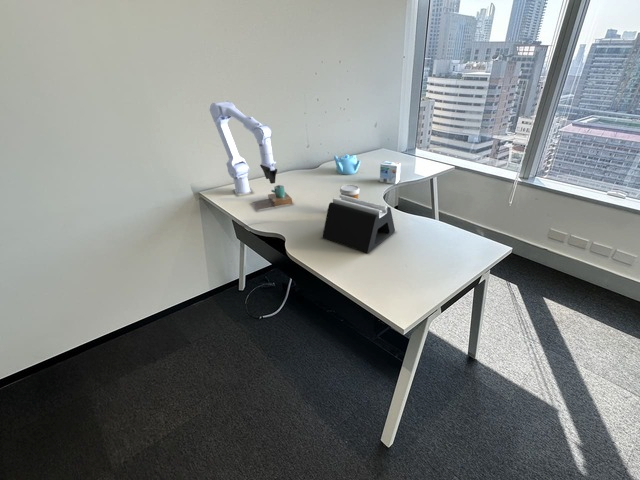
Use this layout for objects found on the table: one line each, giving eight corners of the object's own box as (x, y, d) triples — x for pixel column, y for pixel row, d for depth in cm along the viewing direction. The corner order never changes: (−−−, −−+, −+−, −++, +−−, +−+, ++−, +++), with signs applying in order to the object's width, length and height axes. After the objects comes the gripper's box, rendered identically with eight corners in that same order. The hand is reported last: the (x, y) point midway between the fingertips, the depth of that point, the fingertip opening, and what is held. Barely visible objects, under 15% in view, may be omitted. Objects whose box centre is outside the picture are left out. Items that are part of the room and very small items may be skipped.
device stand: (367, 253, 128) (368, 218, 120) (322, 238, 138) (320, 205, 129) (394, 231, 144) (396, 199, 135) (352, 219, 154) (352, 188, 145)
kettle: (283, 193, 170) (281, 183, 167) (286, 196, 167) (285, 186, 164) (270, 195, 167) (269, 185, 164) (273, 199, 164) (272, 188, 161)
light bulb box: (379, 181, 197) (380, 163, 191) (383, 178, 202) (383, 160, 196) (396, 184, 194) (397, 166, 188) (399, 180, 199) (400, 163, 193)
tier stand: (251, 203, 167) (250, 197, 165) (285, 197, 175) (284, 191, 173) (257, 211, 159) (255, 205, 157) (292, 204, 167) (291, 198, 165)
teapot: (361, 175, 207) (361, 157, 201) (337, 176, 204) (337, 158, 198) (356, 167, 219) (356, 151, 213) (334, 168, 216) (333, 152, 210)
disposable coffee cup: (362, 209, 164) (362, 185, 157) (355, 216, 156) (355, 192, 149) (344, 206, 166) (344, 183, 159) (337, 213, 159) (336, 189, 152)
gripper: (279, 155, 154) (282, 184, 162) (270, 148, 164) (274, 175, 172) (264, 157, 151) (268, 186, 159) (255, 150, 161) (260, 177, 169)
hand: (270, 180), depth 165 cm, fingers open, 7 cm apart
